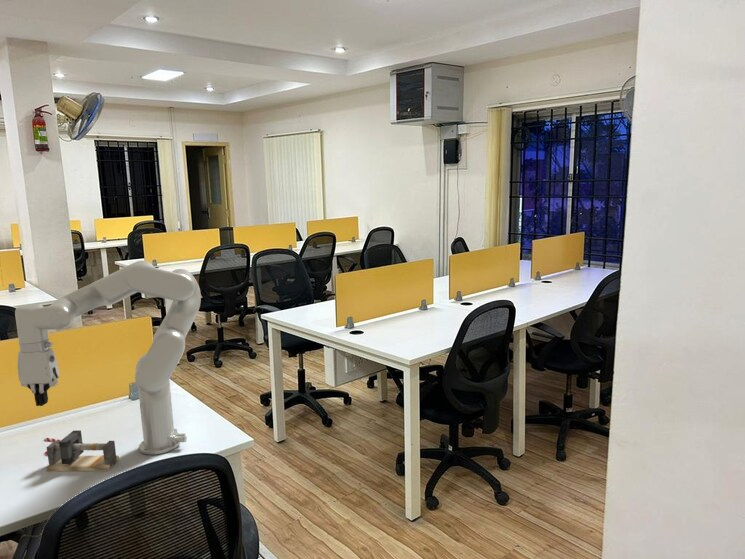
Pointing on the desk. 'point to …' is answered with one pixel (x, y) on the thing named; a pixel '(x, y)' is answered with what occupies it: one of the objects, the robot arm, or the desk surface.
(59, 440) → the candy cane
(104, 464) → the rail fixture
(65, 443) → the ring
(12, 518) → the desk surface
